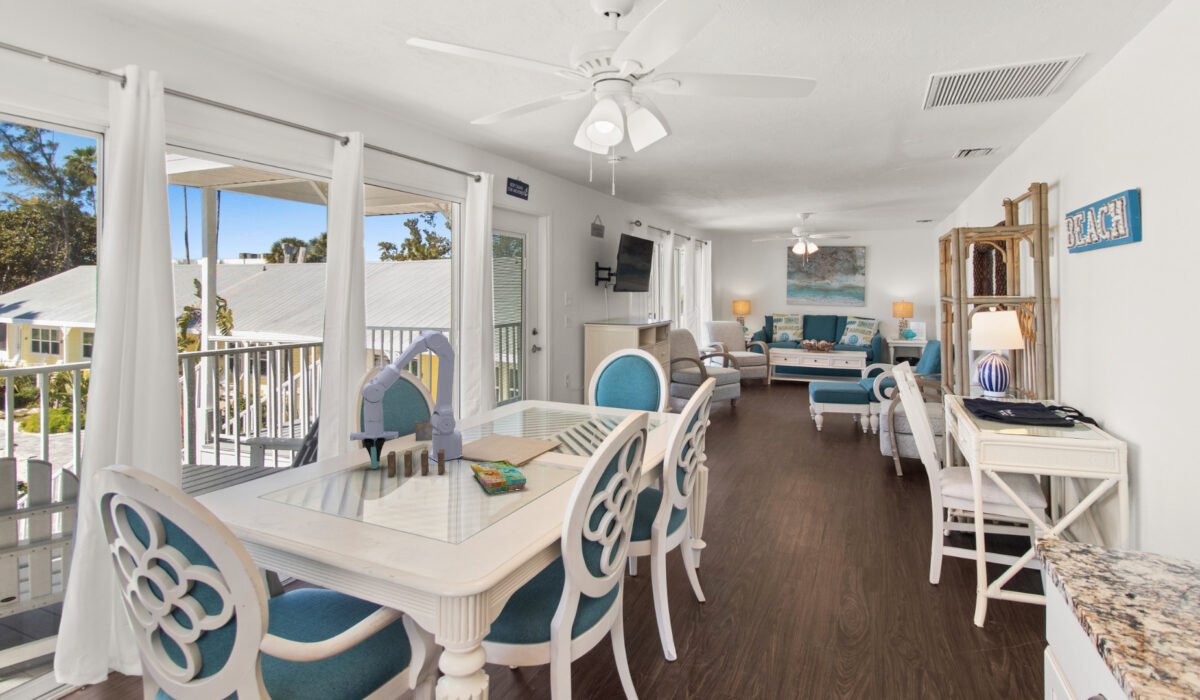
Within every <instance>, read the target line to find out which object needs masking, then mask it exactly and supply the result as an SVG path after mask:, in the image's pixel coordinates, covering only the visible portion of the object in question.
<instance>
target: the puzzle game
mask: <svg viewBox="0 0 1200 700" xmlns="http://www.w3.org/2000/svg"><path fill="white" fill-rule="evenodd" d="M470 469H471V471H472V472H473V473H474V476H475V477H476V478H477V480H478V481H479V482H480V484H481V485H482V486H483V487H484V489H485V490H486V491H487V492H488V494H489V493H493V494H496V493H495V492H500V493H502V492H501V491H507V492H510V491H509V490H514V491H517V490H516V489H521V490H522V489H523V487H525V485H526V484H527V477H526V476H525V475H524V474H523V473H522V472H521V471H520V470H519V469H517V468H516V466H515V465H513V463H512V462H510V460H508V459H503V460H496V461H495V460H494V461H486V462H477V463H471V464H470Z"/></svg>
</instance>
